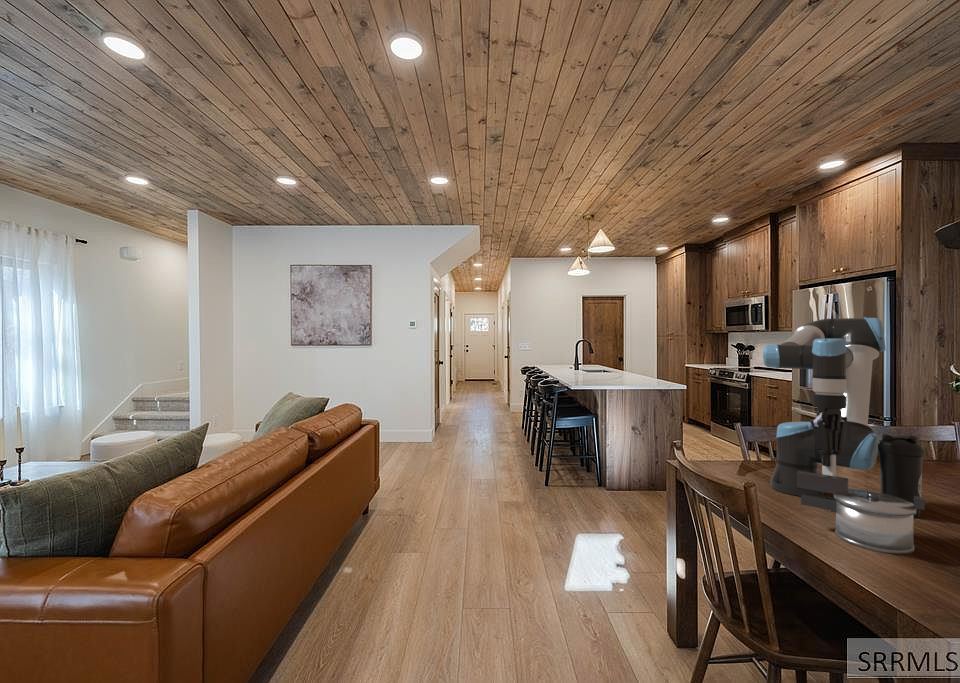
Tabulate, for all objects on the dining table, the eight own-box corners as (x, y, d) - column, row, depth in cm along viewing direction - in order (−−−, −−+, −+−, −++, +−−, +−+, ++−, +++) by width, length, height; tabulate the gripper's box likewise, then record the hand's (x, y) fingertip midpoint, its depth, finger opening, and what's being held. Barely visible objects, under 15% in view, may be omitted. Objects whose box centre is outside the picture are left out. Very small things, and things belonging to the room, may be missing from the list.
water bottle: (928, 521, 129) (929, 440, 129) (881, 514, 134) (881, 436, 134) (918, 510, 137) (918, 434, 137) (874, 503, 143) (874, 430, 143)
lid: (922, 504, 116) (922, 484, 116) (926, 523, 104) (926, 500, 104) (801, 483, 133) (801, 465, 133) (793, 497, 121) (793, 478, 121)
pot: (912, 539, 117) (912, 504, 117) (916, 560, 105) (916, 522, 105) (804, 516, 132) (805, 485, 132) (797, 533, 120) (798, 499, 120)
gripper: (828, 390, 133) (828, 470, 133) (800, 393, 128) (800, 476, 128) (858, 393, 126) (858, 478, 127) (829, 396, 121) (829, 484, 121)
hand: (828, 477), depth 127 cm, fingers closed
